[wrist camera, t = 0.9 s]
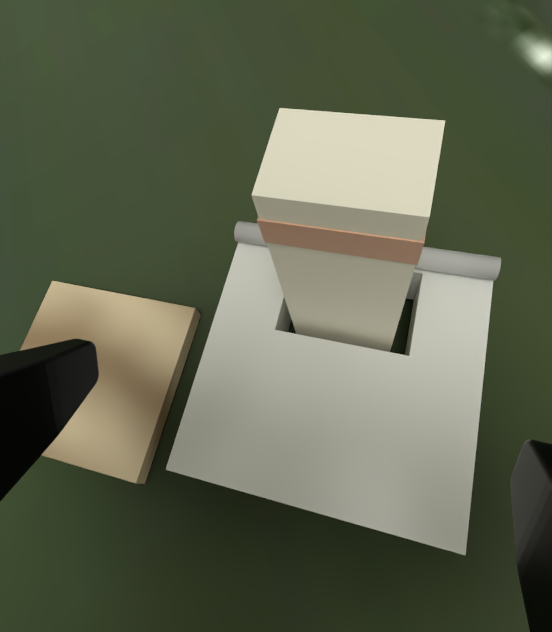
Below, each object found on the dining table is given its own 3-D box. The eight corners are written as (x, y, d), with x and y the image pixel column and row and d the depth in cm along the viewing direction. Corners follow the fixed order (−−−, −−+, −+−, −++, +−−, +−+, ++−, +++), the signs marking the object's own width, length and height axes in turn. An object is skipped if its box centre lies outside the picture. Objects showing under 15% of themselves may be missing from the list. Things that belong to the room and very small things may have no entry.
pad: (144, 483, 22) (135, 483, 21) (-6, 438, 24) (-20, 436, 23) (200, 315, 25) (195, 308, 24) (62, 288, 27) (52, 280, 26)
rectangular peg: (388, 362, 22) (431, 219, 11) (298, 344, 23) (249, 196, 12) (398, 305, 23) (447, 119, 12) (311, 291, 24) (278, 106, 13)
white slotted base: (448, 546, 19) (472, 559, 15) (188, 472, 22) (156, 468, 18) (477, 292, 23) (501, 253, 19) (254, 257, 25) (238, 217, 22)
